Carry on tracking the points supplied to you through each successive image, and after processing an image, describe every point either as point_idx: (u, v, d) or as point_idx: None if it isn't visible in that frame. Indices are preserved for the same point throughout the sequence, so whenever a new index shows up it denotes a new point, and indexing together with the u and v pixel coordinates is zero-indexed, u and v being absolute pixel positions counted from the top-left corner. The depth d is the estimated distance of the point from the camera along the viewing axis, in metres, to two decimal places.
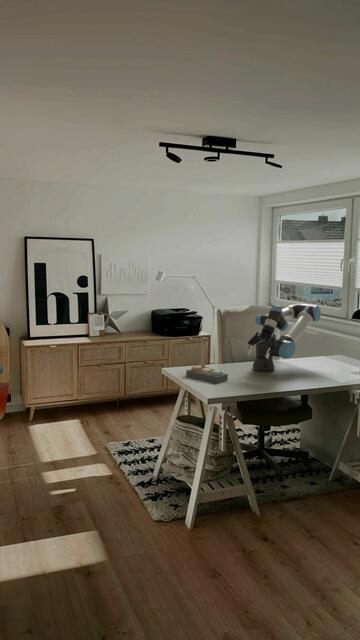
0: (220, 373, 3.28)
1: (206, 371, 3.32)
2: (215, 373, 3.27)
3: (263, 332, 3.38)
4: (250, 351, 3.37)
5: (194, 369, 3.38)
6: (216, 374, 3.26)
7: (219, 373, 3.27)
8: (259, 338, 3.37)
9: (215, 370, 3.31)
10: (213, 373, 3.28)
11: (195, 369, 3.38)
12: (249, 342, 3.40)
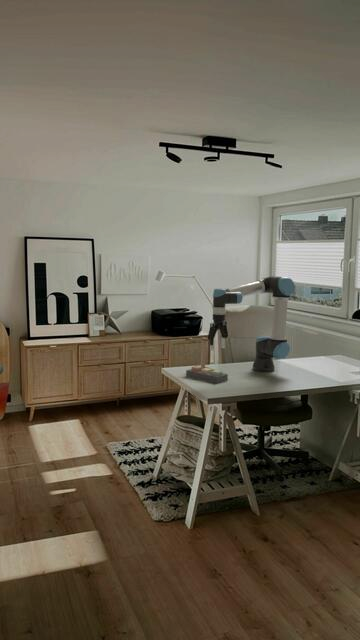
0: (220, 373, 3.28)
1: (206, 371, 3.32)
2: (215, 373, 3.27)
3: None
4: (223, 344, 3.31)
5: (194, 369, 3.38)
6: (216, 374, 3.26)
7: (219, 373, 3.27)
8: (219, 328, 3.28)
9: (215, 370, 3.31)
10: (213, 373, 3.28)
11: (195, 369, 3.38)
12: None
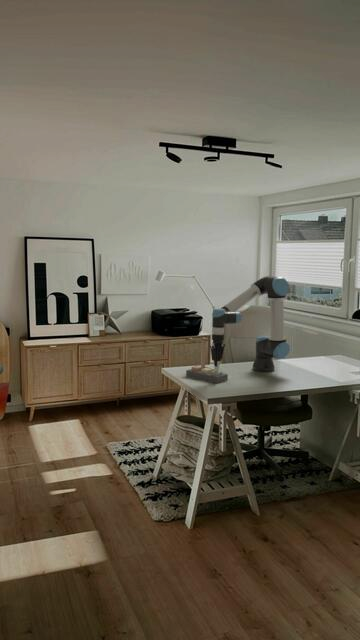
0: (220, 373, 3.28)
1: (206, 371, 3.32)
2: (215, 373, 3.27)
3: None
4: None
5: (194, 369, 3.38)
6: (216, 374, 3.26)
7: (219, 373, 3.27)
8: None
9: None
10: (213, 373, 3.28)
11: (195, 369, 3.38)
12: None
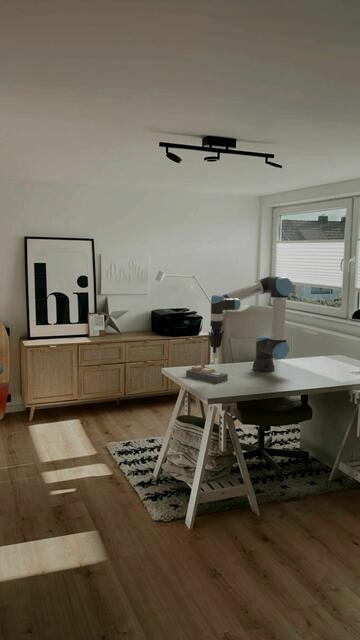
0: None
1: (206, 371, 3.32)
2: (215, 375, 3.27)
3: None
4: None
5: (194, 369, 3.38)
6: None
7: None
8: None
9: (215, 372, 3.31)
10: None
11: (195, 369, 3.38)
12: None
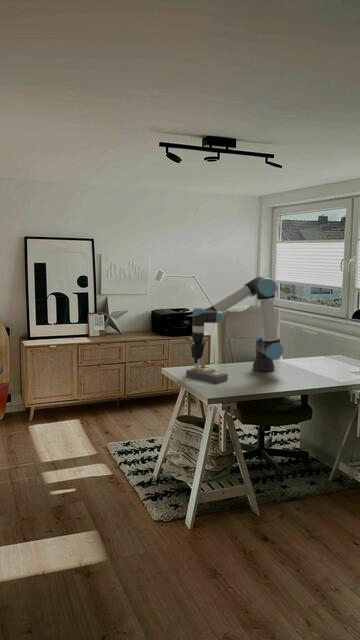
0: None
1: (206, 371, 3.32)
2: (215, 375, 3.27)
3: None
4: None
5: None
6: None
7: None
8: None
9: (215, 372, 3.31)
10: None
11: None
12: None
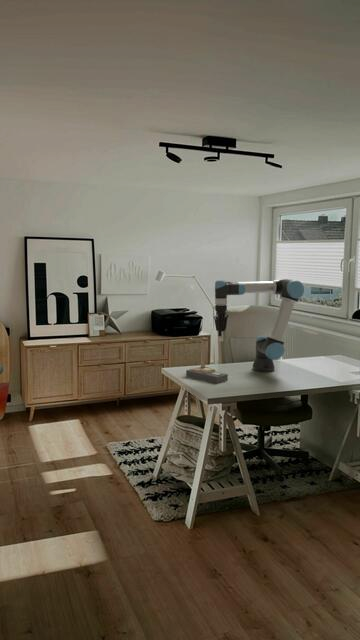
0: None
1: (206, 371, 3.32)
2: (215, 375, 3.27)
3: None
4: None
5: None
6: None
7: None
8: None
9: (215, 372, 3.31)
10: None
11: None
12: None
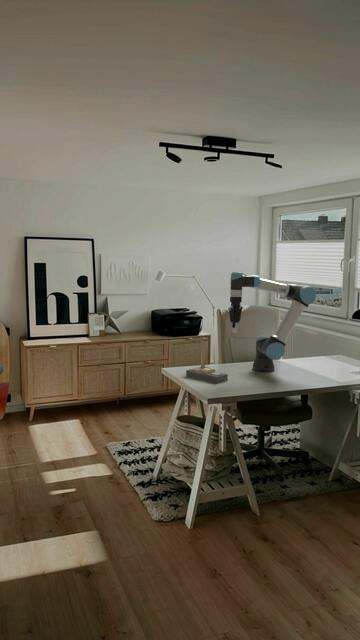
0: None
1: (206, 371, 3.32)
2: (215, 375, 3.27)
3: None
4: None
5: None
6: None
7: None
8: None
9: (215, 372, 3.31)
10: None
11: None
12: None
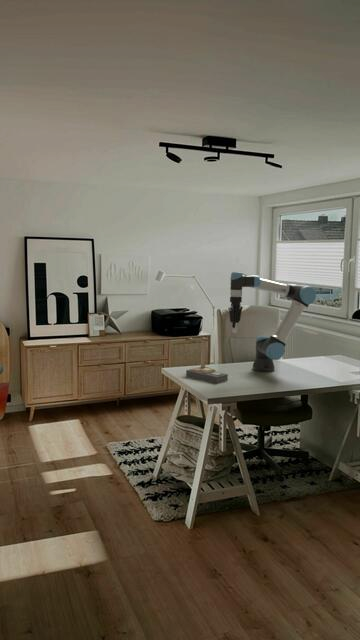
0: None
1: (206, 371, 3.32)
2: (215, 375, 3.27)
3: None
4: None
5: None
6: None
7: None
8: None
9: (215, 372, 3.31)
10: None
11: None
12: None
